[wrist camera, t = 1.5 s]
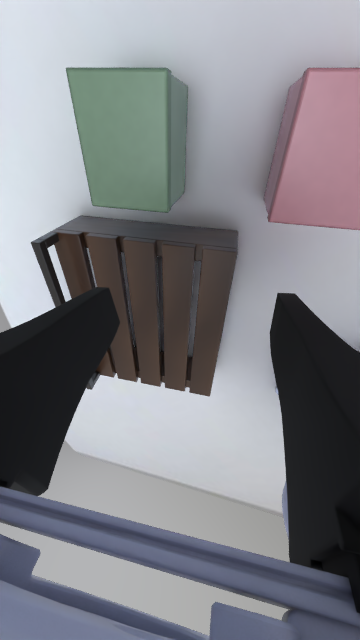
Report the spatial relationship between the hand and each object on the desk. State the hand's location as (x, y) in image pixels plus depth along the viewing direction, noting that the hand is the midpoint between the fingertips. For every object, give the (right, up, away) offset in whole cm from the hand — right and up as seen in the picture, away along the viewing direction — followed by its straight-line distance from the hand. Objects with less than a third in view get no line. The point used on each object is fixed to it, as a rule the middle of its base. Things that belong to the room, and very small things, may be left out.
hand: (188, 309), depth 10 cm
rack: (-3, +1, +13) cm, 14 cm away
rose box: (+8, +10, +4) cm, 13 cm away
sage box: (-2, +11, +5) cm, 12 cm away
